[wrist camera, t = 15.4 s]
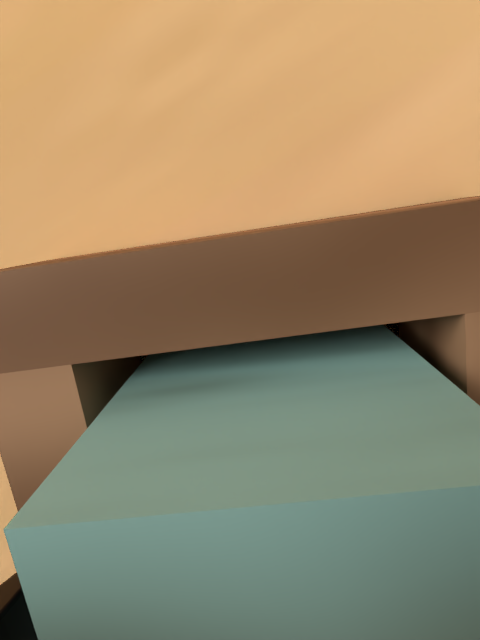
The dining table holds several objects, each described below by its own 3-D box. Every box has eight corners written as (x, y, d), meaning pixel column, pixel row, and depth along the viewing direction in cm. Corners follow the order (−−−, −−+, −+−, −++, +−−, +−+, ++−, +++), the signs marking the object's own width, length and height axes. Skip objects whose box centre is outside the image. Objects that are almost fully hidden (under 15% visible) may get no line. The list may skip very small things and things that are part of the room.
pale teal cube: (380, 492, 13) (549, 873, 6) (196, 509, 14) (114, 883, 6) (366, 310, 12) (565, 477, 4) (163, 336, 12) (3, 529, 5)
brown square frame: (476, 564, 14) (564, 702, 10) (132, 592, 14) (85, 729, 11) (468, 196, 11) (582, 184, 7) (49, 260, 12) (-53, 279, 8)
